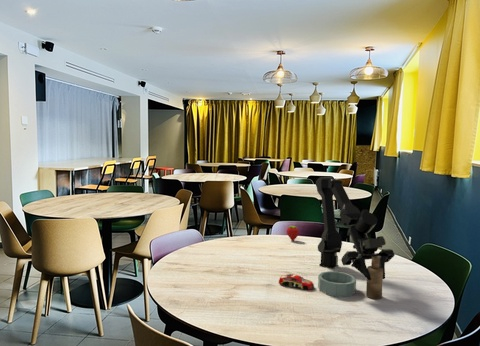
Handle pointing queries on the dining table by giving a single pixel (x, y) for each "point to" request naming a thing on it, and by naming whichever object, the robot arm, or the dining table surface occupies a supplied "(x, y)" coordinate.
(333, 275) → the bowl
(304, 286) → the race car
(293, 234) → the strawberry
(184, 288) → the dining table surface
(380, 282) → the walnut bottle
